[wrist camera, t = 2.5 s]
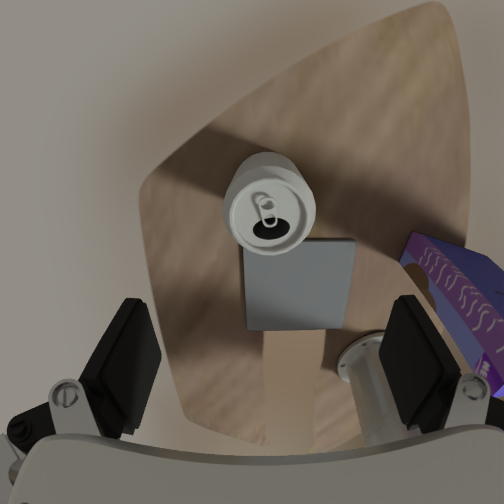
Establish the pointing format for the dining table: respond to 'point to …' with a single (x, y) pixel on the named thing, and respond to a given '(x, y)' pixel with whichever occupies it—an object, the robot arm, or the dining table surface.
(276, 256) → the mat
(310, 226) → the can
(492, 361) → the cereal box
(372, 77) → the dining table surface
